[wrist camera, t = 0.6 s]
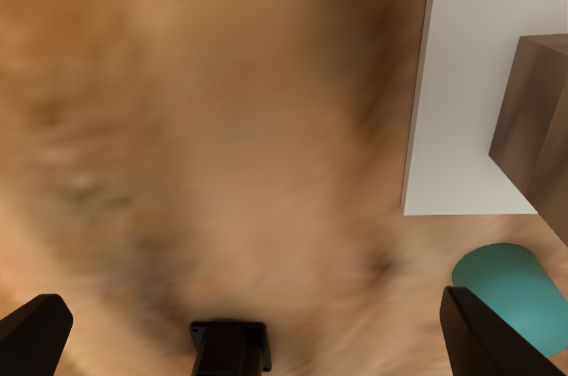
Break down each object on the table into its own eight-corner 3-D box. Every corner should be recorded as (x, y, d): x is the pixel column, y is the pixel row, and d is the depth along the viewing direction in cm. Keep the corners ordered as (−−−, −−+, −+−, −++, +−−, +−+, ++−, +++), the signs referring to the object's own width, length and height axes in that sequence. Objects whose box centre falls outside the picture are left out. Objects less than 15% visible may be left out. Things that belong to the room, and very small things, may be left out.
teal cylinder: (522, 298, 27) (561, 363, 22) (445, 298, 27) (469, 361, 23) (547, 242, 24) (597, 304, 19) (459, 243, 24) (490, 303, 20)
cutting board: (641, 201, 21) (655, 211, 21) (400, 205, 23) (403, 215, 22) (812, -96, 14) (845, -100, 13) (435, -64, 15) (442, -65, 14)
